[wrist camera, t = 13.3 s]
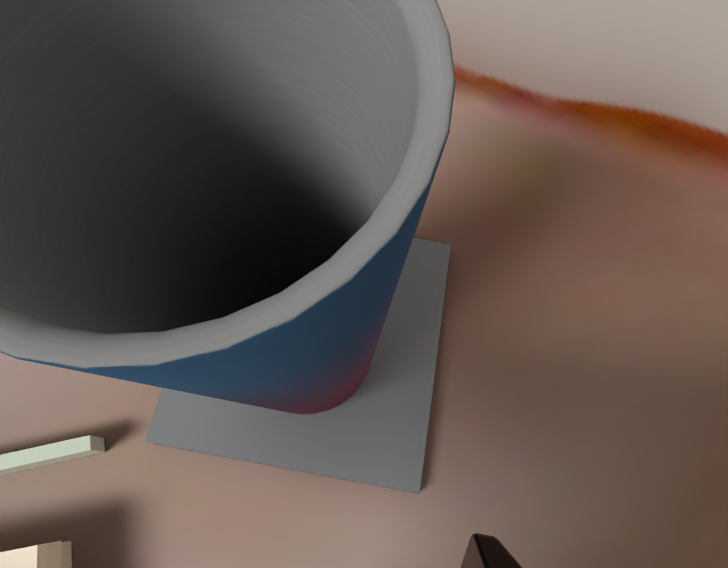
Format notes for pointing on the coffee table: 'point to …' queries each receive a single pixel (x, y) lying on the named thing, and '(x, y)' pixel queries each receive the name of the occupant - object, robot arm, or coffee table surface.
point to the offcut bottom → (66, 555)
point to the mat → (352, 417)
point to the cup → (215, 187)
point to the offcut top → (33, 556)
